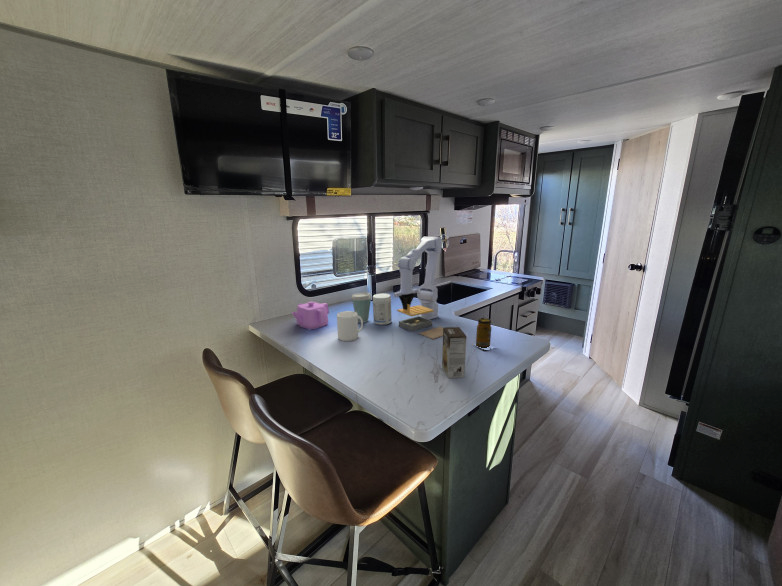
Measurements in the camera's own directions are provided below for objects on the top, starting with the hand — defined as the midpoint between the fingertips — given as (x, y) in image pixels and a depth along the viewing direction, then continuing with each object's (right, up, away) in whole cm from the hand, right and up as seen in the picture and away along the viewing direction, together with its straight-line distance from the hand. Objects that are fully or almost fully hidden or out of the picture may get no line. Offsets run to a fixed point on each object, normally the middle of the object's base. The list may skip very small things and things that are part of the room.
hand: (406, 308), depth 164 cm
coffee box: (+15, -22, -41) cm, 49 cm away
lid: (+5, -2, +4) cm, 7 cm away
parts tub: (+5, -9, +6) cm, 12 cm away
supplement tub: (-12, -8, +12) cm, 19 cm away
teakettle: (-50, -9, +10) cm, 51 cm away
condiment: (+33, -16, -19) cm, 41 cm away
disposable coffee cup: (-23, -7, +15) cm, 28 cm away
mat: (+14, -12, -4) cm, 19 cm away
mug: (-27, -13, -8) cm, 31 cm away
